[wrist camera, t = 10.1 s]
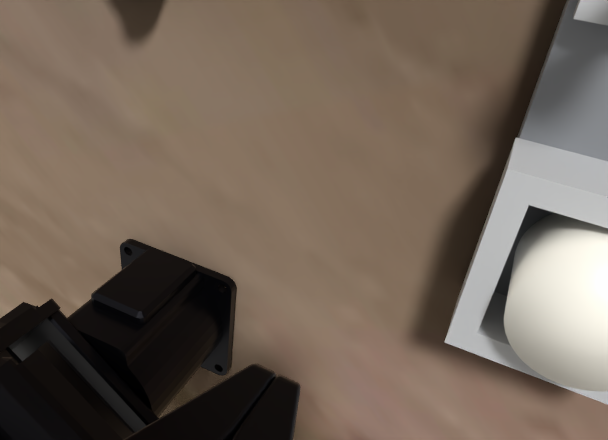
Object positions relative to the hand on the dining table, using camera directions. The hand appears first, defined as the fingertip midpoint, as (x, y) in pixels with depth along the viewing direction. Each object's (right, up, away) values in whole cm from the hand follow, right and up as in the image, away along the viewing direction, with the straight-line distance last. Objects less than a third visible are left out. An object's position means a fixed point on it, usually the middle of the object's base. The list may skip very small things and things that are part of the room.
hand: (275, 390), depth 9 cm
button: (+9, +1, +7) cm, 12 cm away
